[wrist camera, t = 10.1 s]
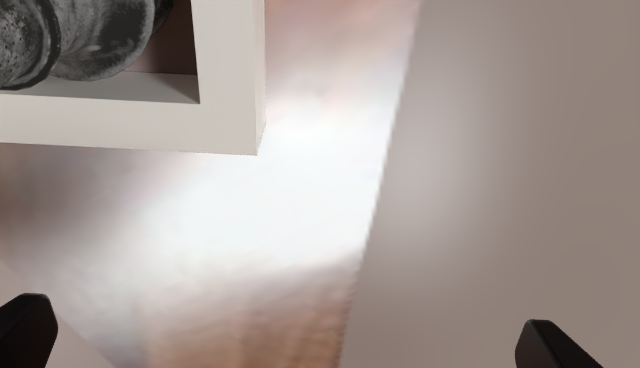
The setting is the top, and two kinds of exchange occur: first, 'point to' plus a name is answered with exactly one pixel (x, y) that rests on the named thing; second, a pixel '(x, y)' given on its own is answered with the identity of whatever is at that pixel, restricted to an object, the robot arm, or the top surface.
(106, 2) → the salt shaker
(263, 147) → the top surface
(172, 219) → the top surface
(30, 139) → the socket block
